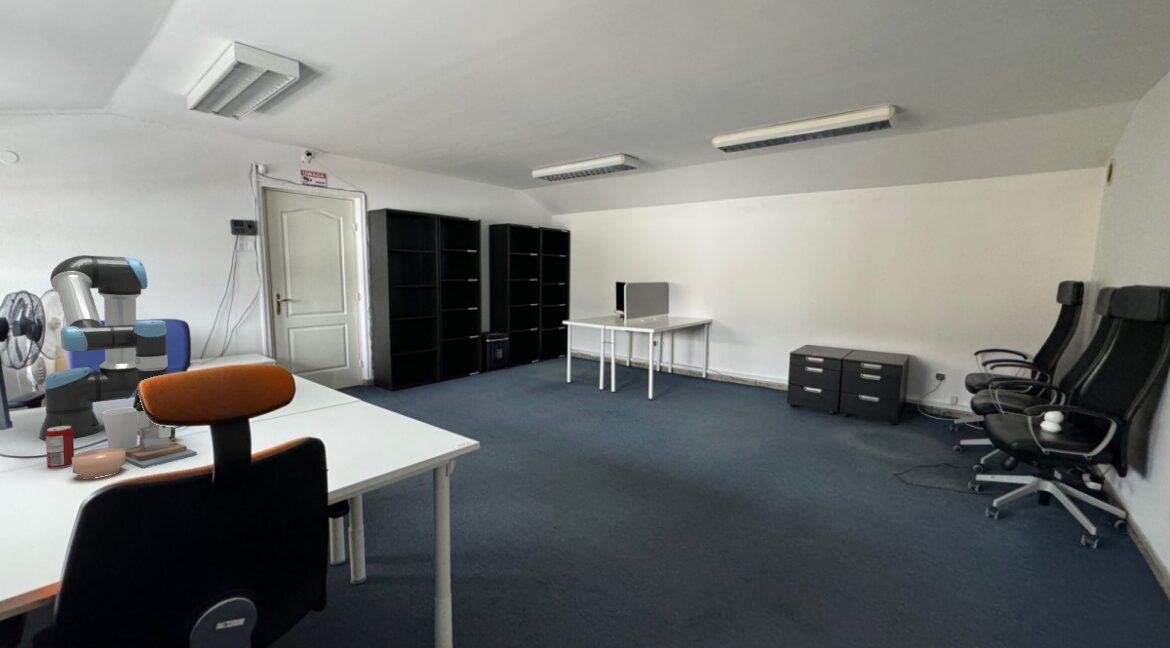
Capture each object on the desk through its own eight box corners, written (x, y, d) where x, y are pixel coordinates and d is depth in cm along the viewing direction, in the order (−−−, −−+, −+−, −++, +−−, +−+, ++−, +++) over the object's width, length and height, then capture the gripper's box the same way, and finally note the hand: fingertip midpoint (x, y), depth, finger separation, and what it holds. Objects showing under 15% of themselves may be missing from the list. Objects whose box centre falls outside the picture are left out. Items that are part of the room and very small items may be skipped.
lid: (122, 454, 154) (121, 428, 154) (167, 444, 165) (166, 419, 165) (140, 461, 149) (139, 434, 149) (186, 450, 160) (185, 425, 159)
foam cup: (98, 455, 156) (96, 415, 155) (110, 446, 164) (108, 408, 163) (137, 451, 161) (135, 412, 160) (146, 442, 169) (145, 406, 168)
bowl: (65, 476, 139) (64, 455, 139) (115, 464, 149) (115, 445, 149) (82, 484, 134) (81, 463, 134) (133, 471, 144) (132, 451, 144)
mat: (112, 456, 155) (112, 453, 155) (165, 444, 168) (165, 441, 168) (143, 468, 147) (143, 465, 147) (196, 454, 159) (196, 451, 159)
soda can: (73, 461, 150) (71, 423, 149) (75, 466, 147) (73, 427, 146) (46, 466, 146) (44, 427, 145) (48, 470, 143) (46, 430, 142)
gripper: (118, 366, 157) (120, 430, 159) (157, 374, 146) (159, 443, 148) (147, 363, 164) (149, 425, 166) (186, 371, 153) (188, 437, 155)
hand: (154, 433), depth 157 cm, fingers open, 13 cm apart
